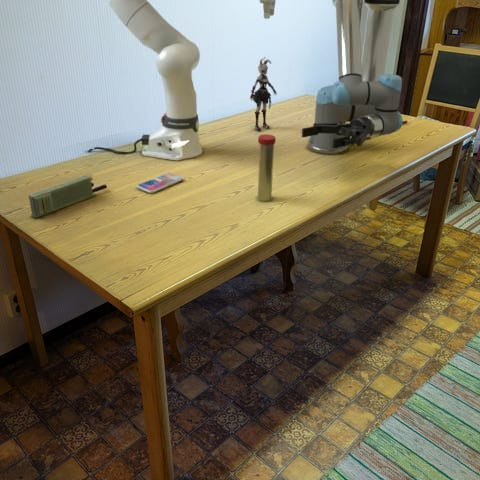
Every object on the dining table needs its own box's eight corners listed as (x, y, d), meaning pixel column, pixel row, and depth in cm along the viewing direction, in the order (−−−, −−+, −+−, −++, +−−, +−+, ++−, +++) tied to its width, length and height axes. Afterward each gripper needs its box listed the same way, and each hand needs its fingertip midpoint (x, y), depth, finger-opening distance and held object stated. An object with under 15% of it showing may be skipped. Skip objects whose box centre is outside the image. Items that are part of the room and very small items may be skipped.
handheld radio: (30, 215, 144) (102, 188, 161) (37, 219, 142) (109, 191, 159) (26, 193, 140) (100, 168, 157) (33, 197, 138) (107, 171, 155)
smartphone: (184, 177, 167) (150, 191, 157) (184, 180, 167) (151, 194, 157) (168, 171, 171) (134, 185, 161) (168, 174, 171) (135, 188, 161)
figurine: (253, 133, 212) (255, 58, 197) (243, 130, 216) (244, 56, 201) (277, 126, 221) (281, 54, 206) (267, 123, 224) (270, 52, 210)
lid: (255, 140, 148) (256, 135, 148) (271, 139, 150) (272, 133, 149) (261, 145, 144) (261, 140, 143) (277, 144, 146) (278, 138, 145)
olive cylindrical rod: (255, 196, 157) (257, 136, 148) (268, 195, 158) (271, 135, 149) (260, 202, 153) (262, 141, 144) (273, 200, 155) (276, 140, 145)
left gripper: (265, -33, 165) (264, 13, 172) (255, -32, 148) (254, 20, 155) (284, -33, 164) (282, 14, 171) (276, -31, 147) (274, 20, 154)
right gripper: (393, 148, 159) (346, 161, 148) (336, 130, 177) (290, 140, 166) (397, 124, 156) (349, 135, 144) (338, 108, 173) (291, 117, 162)
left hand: (268, 16), depth 163 cm, fingers open, 8 cm apart
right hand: (317, 138), depth 155 cm, fingers open, 13 cm apart
